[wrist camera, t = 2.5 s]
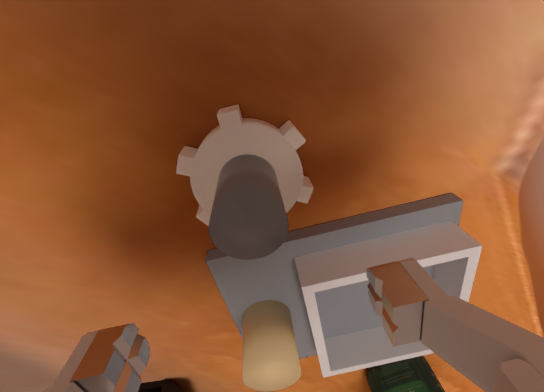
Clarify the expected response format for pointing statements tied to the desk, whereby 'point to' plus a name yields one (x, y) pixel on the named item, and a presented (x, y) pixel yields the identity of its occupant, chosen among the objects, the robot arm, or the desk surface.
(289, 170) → the gear
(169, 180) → the desk surface
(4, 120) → the desk surface
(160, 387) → the end cap
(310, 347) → the carrier board
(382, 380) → the coffee jar
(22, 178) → the desk surface
